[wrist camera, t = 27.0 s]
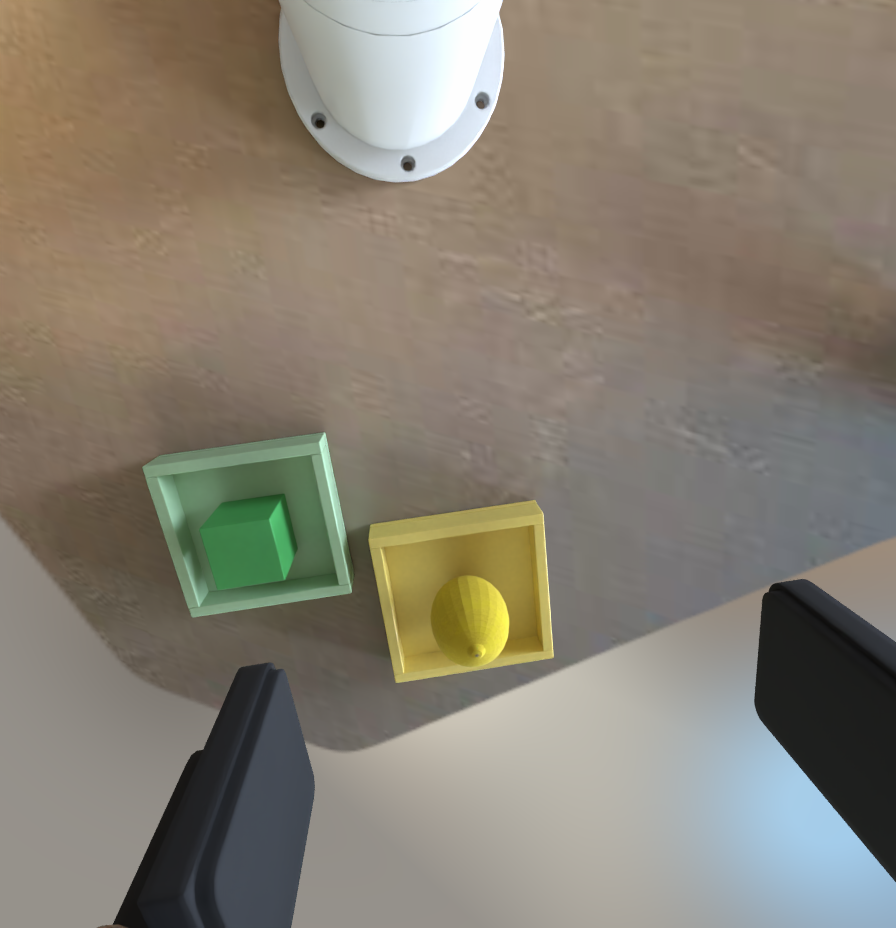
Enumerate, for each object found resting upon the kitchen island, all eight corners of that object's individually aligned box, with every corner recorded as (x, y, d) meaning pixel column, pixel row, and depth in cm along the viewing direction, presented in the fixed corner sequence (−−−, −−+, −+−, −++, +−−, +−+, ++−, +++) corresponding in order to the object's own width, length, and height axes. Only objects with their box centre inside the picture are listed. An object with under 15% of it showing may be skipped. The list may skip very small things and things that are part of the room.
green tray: (158, 455, 37) (141, 467, 34) (325, 431, 37) (319, 441, 35) (204, 598, 40) (191, 618, 38) (354, 575, 41) (351, 593, 38)
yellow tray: (370, 523, 39) (367, 539, 37) (534, 499, 40) (543, 513, 37) (396, 661, 43) (395, 683, 41) (545, 637, 44) (553, 658, 42)
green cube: (221, 502, 37) (197, 529, 33) (284, 492, 38) (269, 518, 33) (237, 557, 39) (216, 590, 35) (298, 548, 39) (285, 580, 35)
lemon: (423, 615, 42) (428, 687, 34) (433, 553, 40) (441, 614, 32) (491, 621, 42) (510, 693, 35) (504, 560, 41) (527, 622, 33)
